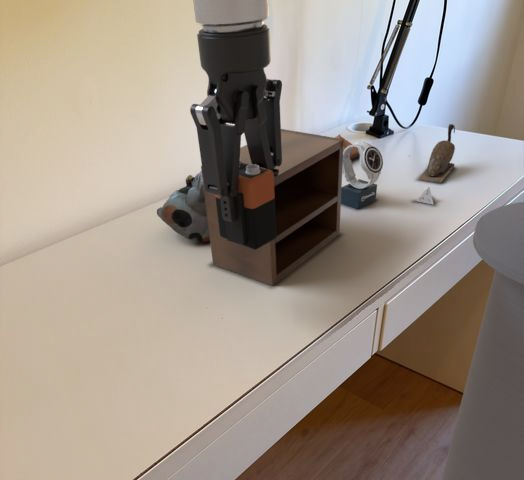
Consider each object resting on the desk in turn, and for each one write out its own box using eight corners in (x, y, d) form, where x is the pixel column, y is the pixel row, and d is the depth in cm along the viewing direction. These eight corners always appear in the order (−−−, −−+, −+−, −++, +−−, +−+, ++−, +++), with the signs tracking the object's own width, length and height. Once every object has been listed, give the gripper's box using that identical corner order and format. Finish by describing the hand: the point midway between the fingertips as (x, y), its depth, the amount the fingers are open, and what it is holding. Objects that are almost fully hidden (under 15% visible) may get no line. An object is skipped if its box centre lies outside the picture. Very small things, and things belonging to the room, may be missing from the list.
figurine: (439, 158, 118) (445, 118, 113) (459, 161, 116) (467, 120, 111) (419, 180, 109) (425, 137, 104) (440, 183, 107) (447, 139, 102)
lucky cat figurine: (197, 206, 104) (226, 142, 96) (240, 243, 101) (273, 180, 93) (142, 213, 92) (169, 140, 84) (189, 255, 89) (221, 184, 81)
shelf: (339, 234, 92) (343, 139, 82) (272, 285, 80) (267, 181, 70) (283, 219, 98) (281, 128, 88) (212, 265, 86) (200, 165, 76)
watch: (365, 211, 99) (370, 152, 92) (333, 200, 103) (335, 143, 97) (384, 202, 101) (390, 144, 95) (351, 192, 106) (354, 135, 99)
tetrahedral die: (437, 204, 102) (441, 188, 101) (433, 204, 100) (437, 188, 98) (420, 201, 103) (423, 185, 102) (415, 201, 101) (419, 185, 100)
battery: (241, 225, 73) (234, 152, 66) (278, 239, 69) (275, 162, 62) (218, 237, 70) (209, 162, 64) (255, 252, 66) (249, 173, 60)
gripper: (256, 12, 61) (267, 203, 76) (144, 38, 51) (182, 254, 65) (310, 13, 58) (311, 213, 72) (201, 42, 47) (229, 270, 61)
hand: (250, 232), depth 69 cm, fingers closed on battery, 5 cm apart
